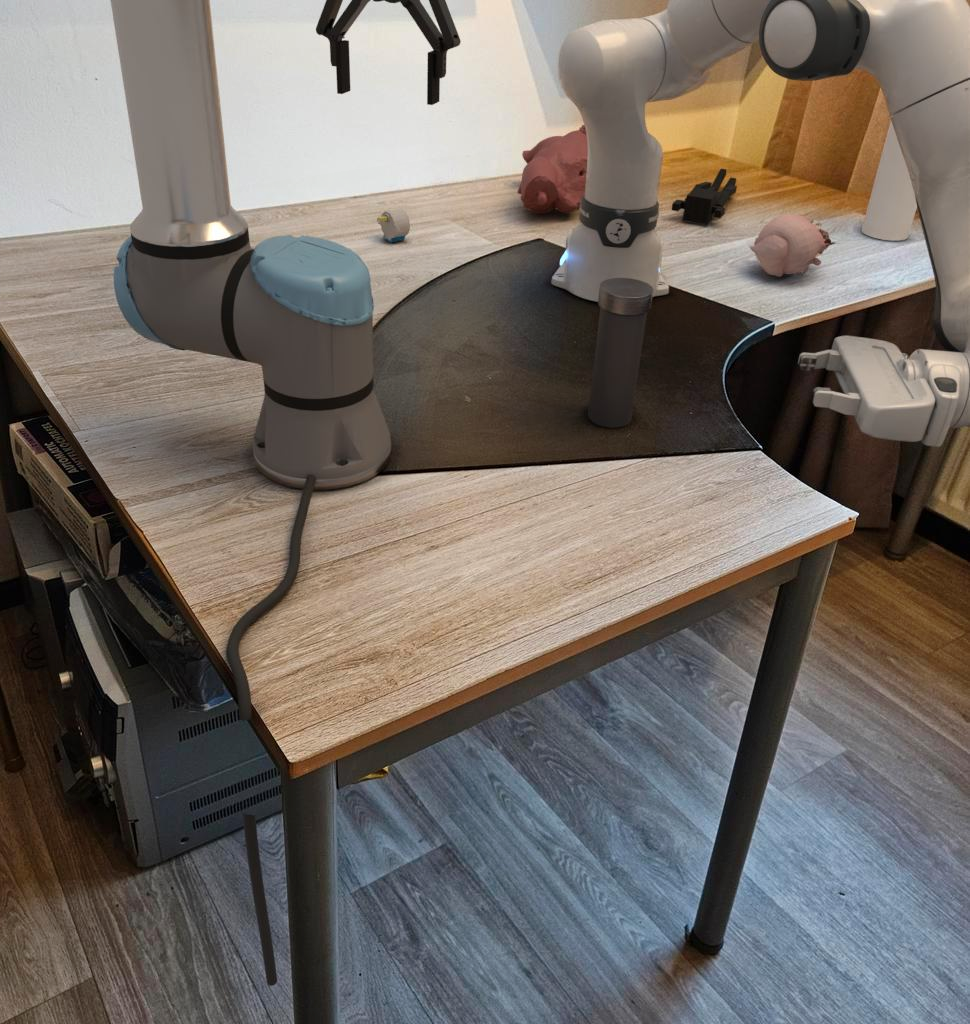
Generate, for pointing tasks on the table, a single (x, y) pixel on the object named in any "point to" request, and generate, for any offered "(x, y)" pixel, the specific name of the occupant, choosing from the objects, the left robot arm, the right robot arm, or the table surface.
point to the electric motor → (394, 225)
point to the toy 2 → (790, 244)
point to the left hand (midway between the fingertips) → (388, 97)
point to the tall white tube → (891, 195)
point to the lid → (625, 296)
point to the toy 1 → (706, 200)
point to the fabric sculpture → (555, 173)
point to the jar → (616, 368)
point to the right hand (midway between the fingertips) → (806, 378)
